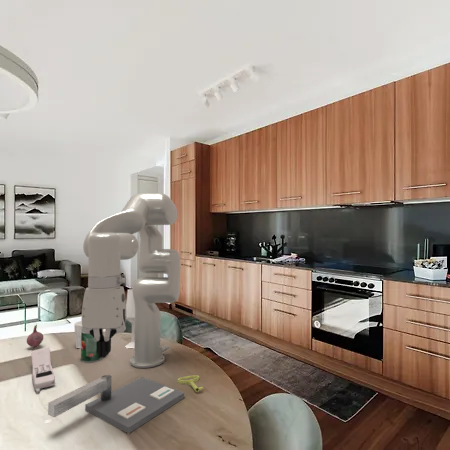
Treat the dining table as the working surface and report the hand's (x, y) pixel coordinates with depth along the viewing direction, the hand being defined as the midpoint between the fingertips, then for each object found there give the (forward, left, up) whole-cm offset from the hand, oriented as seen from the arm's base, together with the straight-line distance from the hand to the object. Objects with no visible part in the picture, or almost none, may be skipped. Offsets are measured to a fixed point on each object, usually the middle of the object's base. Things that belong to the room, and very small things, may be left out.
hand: (103, 355), depth 78 cm
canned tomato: (-23, -41, -18) cm, 50 cm away
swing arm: (+1, -7, -15) cm, 17 cm away
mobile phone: (-5, -41, -18) cm, 45 cm away
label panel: (-11, -1, -17) cm, 21 cm away
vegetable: (-16, -71, -18) cm, 75 cm away
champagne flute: (-41, -39, -18) cm, 60 cm away
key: (-29, +4, -18) cm, 34 cm away
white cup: (-29, -56, -18) cm, 66 cm away
